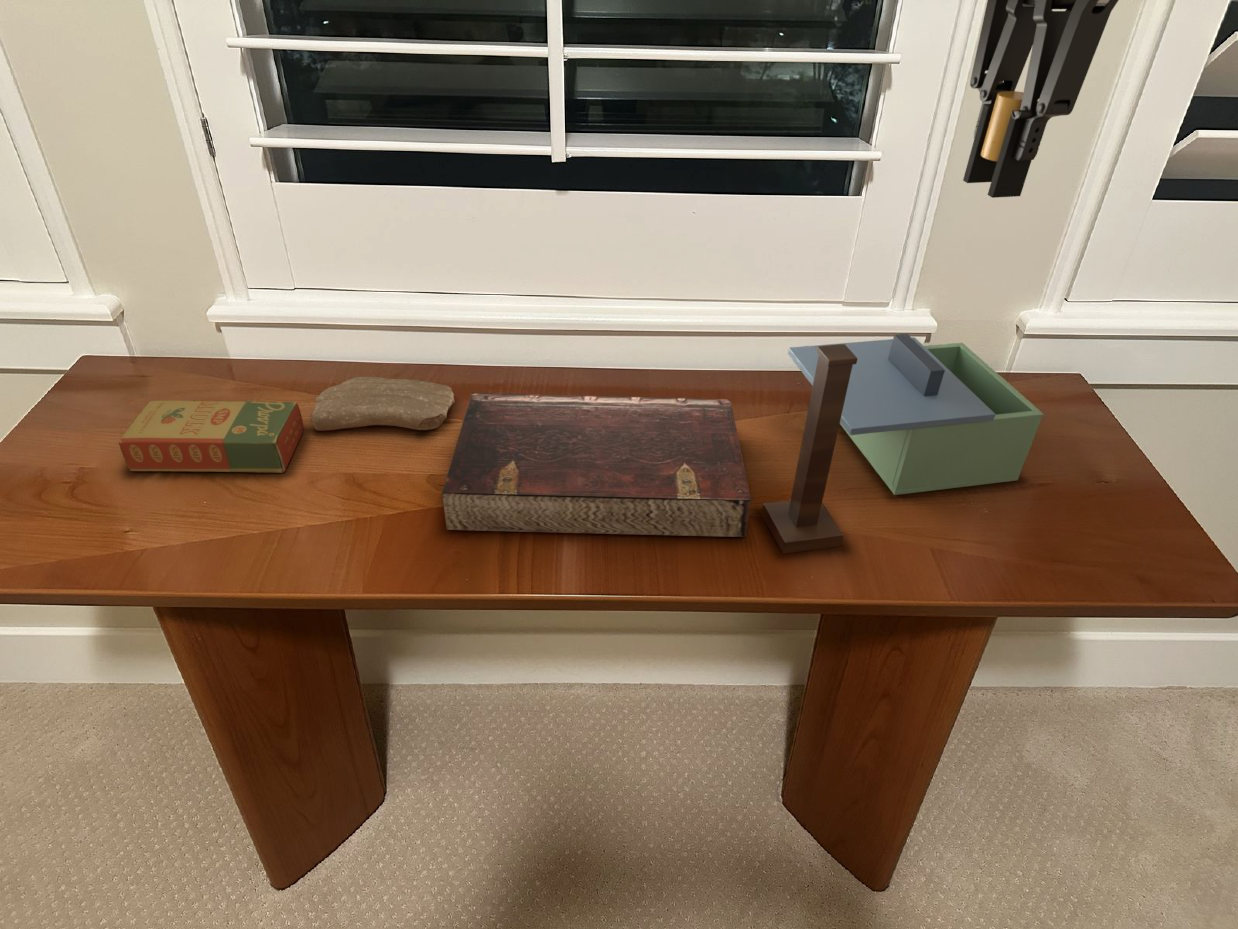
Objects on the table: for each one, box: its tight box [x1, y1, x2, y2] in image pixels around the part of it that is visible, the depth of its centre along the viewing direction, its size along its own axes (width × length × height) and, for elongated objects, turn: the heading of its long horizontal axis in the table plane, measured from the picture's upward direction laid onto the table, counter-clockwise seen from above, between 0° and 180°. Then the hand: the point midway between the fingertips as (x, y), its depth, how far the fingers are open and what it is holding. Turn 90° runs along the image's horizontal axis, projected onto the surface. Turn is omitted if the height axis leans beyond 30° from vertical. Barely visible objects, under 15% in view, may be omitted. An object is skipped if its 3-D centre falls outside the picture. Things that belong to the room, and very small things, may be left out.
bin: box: [839, 342, 1044, 496], centre depth 92 cm, size 16×15×9 cm
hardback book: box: [441, 392, 752, 538], centre depth 86 cm, size 29×19×5 cm, turn 90°
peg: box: [981, 90, 1039, 161], centre depth 70 cm, size 3×3×5 cm
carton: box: [118, 400, 305, 474], centre depth 89 cm, size 8×16×4 cm, turn 92°
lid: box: [787, 333, 995, 435], centre depth 87 cm, size 17×16×4 cm
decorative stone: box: [310, 376, 455, 432], centre depth 96 cm, size 10×16×4 cm, turn 91°
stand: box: [761, 343, 857, 555], centre depth 76 cm, size 6×6×20 cm
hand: (991, 187), depth 73 cm, fingers closed on peg, 3 cm apart
